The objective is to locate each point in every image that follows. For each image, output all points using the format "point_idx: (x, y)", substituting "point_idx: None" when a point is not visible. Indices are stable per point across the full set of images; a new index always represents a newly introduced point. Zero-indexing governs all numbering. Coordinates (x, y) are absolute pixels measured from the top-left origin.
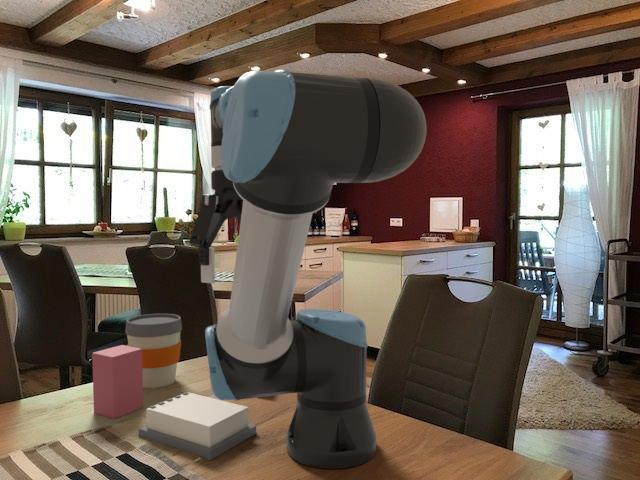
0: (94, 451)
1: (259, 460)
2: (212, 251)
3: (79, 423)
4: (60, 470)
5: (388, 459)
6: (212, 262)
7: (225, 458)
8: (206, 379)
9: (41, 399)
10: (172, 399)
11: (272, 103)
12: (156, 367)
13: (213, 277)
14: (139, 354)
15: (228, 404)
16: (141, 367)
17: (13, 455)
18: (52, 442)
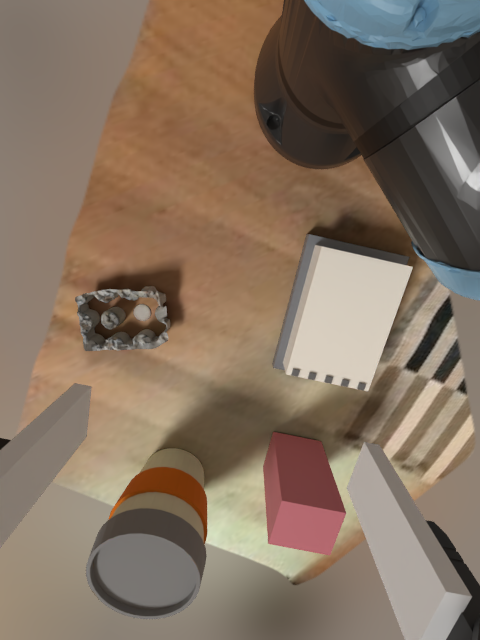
0: (409, 404)
1: None
2: (450, 571)
3: (340, 471)
4: (460, 407)
5: None
6: (416, 513)
7: (393, 239)
8: (128, 413)
9: (284, 558)
10: (327, 376)
11: None
12: (196, 480)
13: (379, 458)
14: (286, 494)
15: (319, 284)
16: (280, 474)
17: (436, 475)
18: (397, 462)
